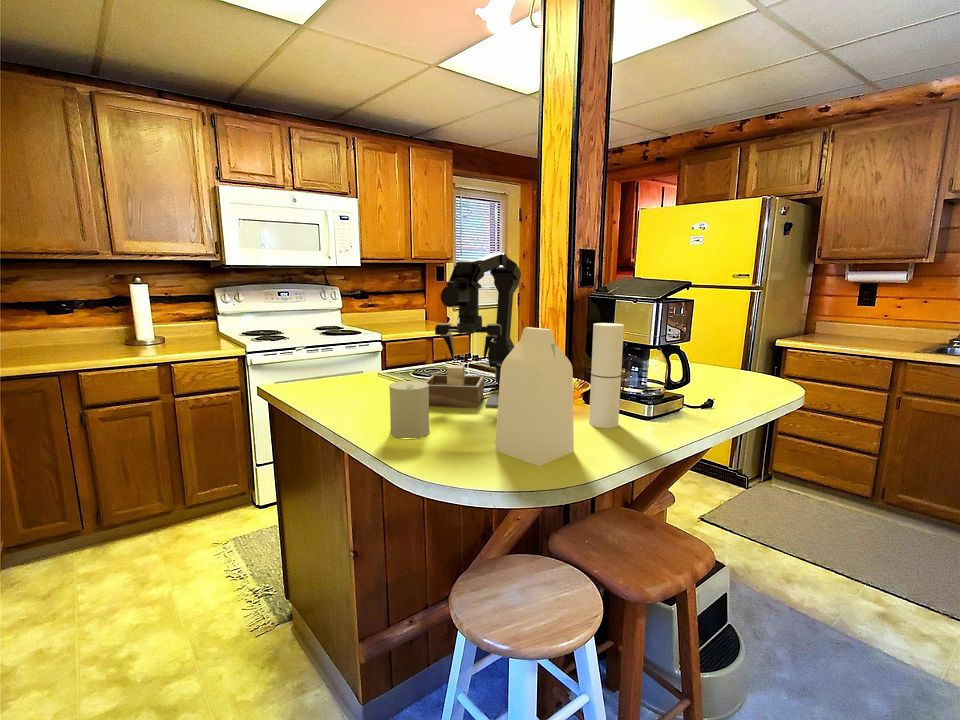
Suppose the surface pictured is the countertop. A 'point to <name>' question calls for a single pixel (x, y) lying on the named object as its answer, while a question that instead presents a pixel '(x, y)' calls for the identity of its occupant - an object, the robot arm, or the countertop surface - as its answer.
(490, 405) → the pad
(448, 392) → the crate
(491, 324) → the robot arm
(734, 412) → the countertop surface
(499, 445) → the milk
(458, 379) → the block
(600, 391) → the cylindrical container
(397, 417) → the can
